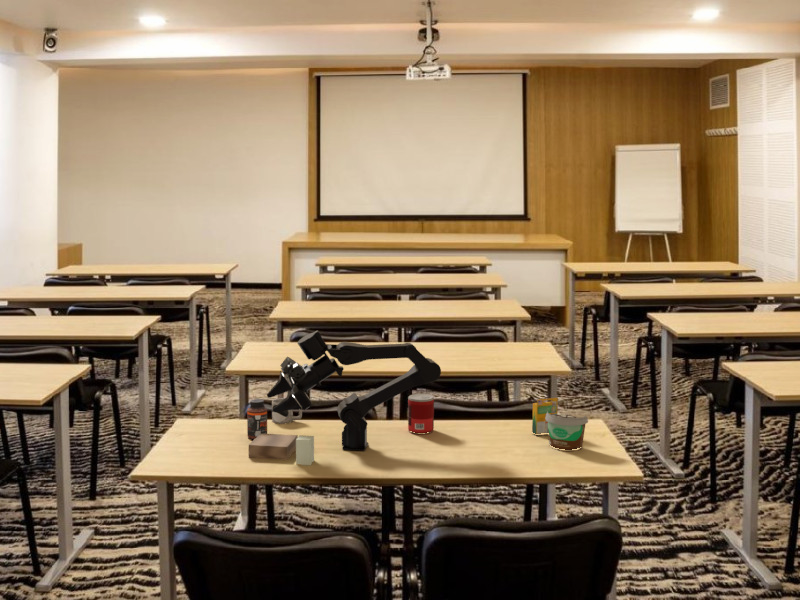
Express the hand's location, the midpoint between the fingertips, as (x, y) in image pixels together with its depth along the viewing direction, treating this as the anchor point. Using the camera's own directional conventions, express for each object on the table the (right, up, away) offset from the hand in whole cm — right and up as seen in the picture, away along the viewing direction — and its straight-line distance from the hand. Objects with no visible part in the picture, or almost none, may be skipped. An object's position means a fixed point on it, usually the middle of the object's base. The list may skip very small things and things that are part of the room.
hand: (270, 403), depth 220 cm
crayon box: (+81, -12, +21) cm, 85 cm away
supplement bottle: (-7, -12, +16) cm, 21 cm away
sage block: (+11, -15, -7) cm, 20 cm away
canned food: (+43, -12, +23) cm, 50 cm away
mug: (0, -10, +33) cm, 35 cm away
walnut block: (+1, -14, +2) cm, 15 cm away
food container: (+84, -14, +7) cm, 86 cm away
